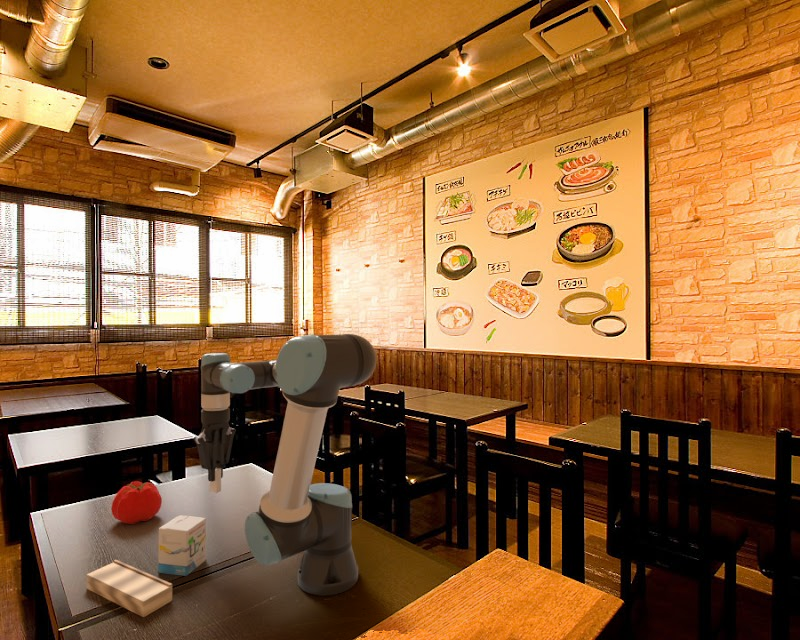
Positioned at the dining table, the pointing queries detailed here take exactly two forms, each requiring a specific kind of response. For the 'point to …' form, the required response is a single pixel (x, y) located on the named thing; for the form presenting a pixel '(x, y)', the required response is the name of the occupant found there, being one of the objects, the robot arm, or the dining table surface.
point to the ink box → (182, 545)
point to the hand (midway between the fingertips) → (215, 491)
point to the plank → (130, 587)
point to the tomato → (136, 502)
